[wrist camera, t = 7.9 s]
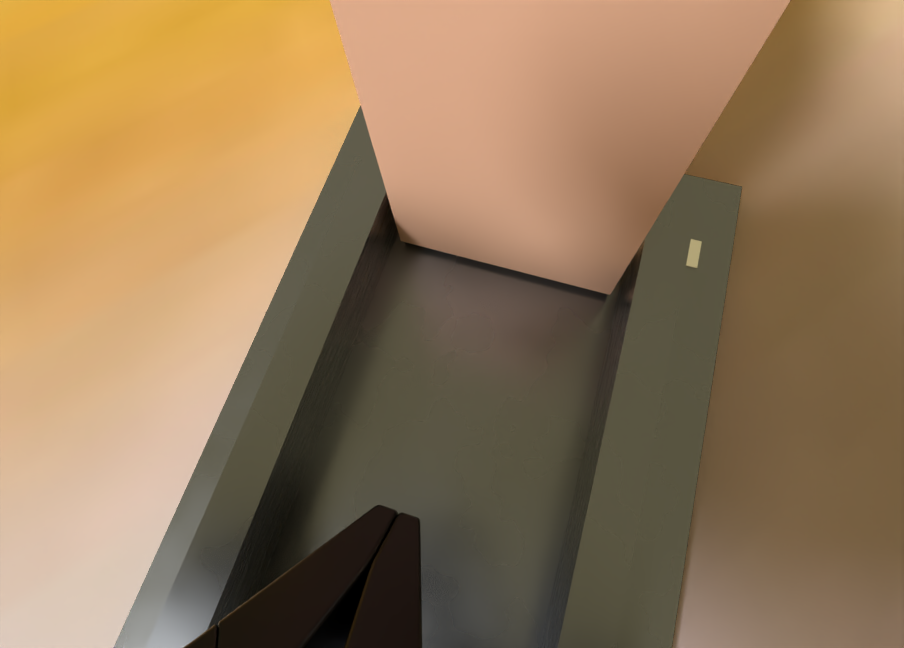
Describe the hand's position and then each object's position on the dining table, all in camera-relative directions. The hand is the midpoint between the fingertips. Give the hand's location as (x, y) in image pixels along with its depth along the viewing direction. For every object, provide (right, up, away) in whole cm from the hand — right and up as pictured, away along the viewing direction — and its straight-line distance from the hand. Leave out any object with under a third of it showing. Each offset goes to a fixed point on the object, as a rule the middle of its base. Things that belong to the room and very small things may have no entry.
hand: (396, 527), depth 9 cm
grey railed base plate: (+1, +1, +7) cm, 7 cm away
